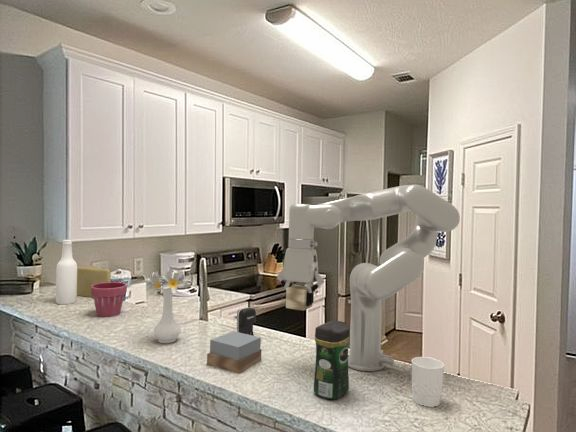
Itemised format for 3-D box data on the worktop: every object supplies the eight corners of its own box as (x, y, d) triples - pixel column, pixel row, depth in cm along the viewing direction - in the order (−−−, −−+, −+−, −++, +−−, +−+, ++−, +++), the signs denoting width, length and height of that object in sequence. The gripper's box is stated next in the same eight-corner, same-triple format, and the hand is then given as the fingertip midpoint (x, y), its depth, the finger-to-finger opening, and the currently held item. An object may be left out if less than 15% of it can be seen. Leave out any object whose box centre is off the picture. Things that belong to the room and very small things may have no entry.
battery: (242, 343, 145) (243, 311, 145) (235, 340, 147) (236, 309, 147) (257, 338, 150) (257, 307, 150) (249, 336, 153) (250, 306, 152)
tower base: (261, 361, 129) (261, 349, 129) (239, 375, 119) (240, 361, 119) (229, 354, 135) (230, 342, 135) (206, 366, 124) (207, 353, 124)
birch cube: (312, 306, 126) (312, 287, 126) (303, 310, 120) (304, 290, 120) (294, 303, 128) (295, 284, 128) (285, 307, 123) (286, 288, 123)
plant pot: (114, 319, 169) (114, 288, 169) (83, 317, 172) (83, 287, 171) (132, 311, 184) (133, 282, 183) (103, 309, 186) (104, 281, 185)
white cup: (435, 394, 109) (436, 357, 109) (447, 408, 101) (449, 368, 101) (406, 393, 109) (407, 356, 108) (416, 408, 101) (417, 368, 100)
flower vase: (161, 331, 156) (162, 265, 155) (197, 340, 146) (198, 270, 146) (132, 340, 145) (133, 269, 144) (169, 351, 135) (170, 275, 135)
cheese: (118, 298, 207) (118, 269, 207) (100, 302, 199) (100, 271, 199) (92, 292, 219) (93, 264, 219) (75, 295, 211) (75, 266, 211)
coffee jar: (327, 382, 114) (329, 316, 114) (352, 390, 110) (354, 321, 109) (308, 394, 107) (310, 323, 106) (334, 403, 102) (336, 329, 102)
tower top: (260, 350, 128) (260, 337, 128) (238, 360, 119) (238, 347, 119) (233, 343, 134) (233, 331, 134) (209, 352, 125) (210, 339, 125)
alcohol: (51, 303, 193) (52, 240, 192) (67, 299, 201) (68, 238, 200) (64, 305, 190) (65, 241, 189) (80, 302, 198) (81, 240, 197)
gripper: (332, 245, 123) (330, 305, 124) (281, 242, 131) (280, 298, 132) (322, 247, 117) (320, 310, 117) (269, 243, 125) (268, 302, 125)
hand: (299, 303), depth 124 cm, fingers closed on birch cube, 6 cm apart
